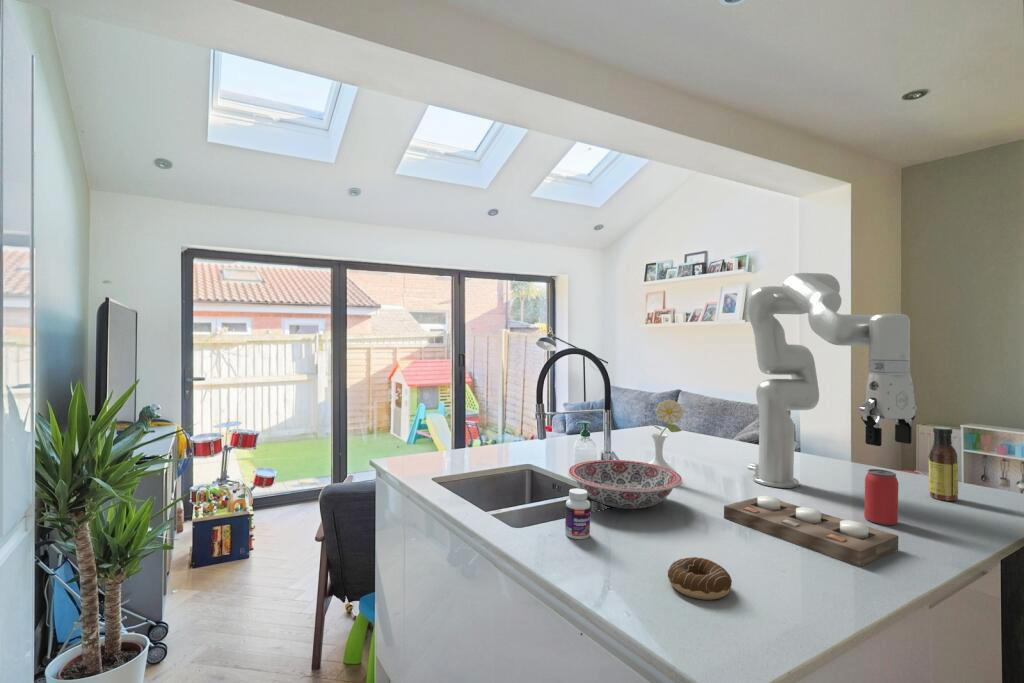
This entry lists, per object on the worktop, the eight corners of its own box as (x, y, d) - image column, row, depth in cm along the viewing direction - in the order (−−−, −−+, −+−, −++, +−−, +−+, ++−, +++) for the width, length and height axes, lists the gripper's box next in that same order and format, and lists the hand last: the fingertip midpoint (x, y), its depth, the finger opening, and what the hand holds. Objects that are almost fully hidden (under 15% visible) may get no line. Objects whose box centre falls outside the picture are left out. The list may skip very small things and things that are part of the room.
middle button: (791, 518, 116) (791, 509, 116) (803, 514, 119) (803, 506, 119) (813, 525, 112) (813, 516, 112) (825, 521, 115) (825, 512, 115)
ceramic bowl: (597, 481, 154) (597, 454, 154) (695, 500, 137) (696, 470, 137) (547, 506, 130) (547, 475, 130) (658, 533, 113) (659, 498, 113)
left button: (752, 505, 124) (753, 497, 124) (765, 502, 127) (765, 494, 127) (772, 512, 120) (772, 503, 120) (784, 508, 123) (784, 500, 123)
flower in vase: (633, 480, 155) (635, 398, 155) (646, 472, 165) (648, 395, 164) (676, 487, 148) (678, 402, 147) (687, 479, 157) (689, 398, 157)
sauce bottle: (946, 495, 144) (948, 425, 144) (964, 502, 138) (965, 430, 138) (922, 494, 145) (923, 425, 144) (938, 501, 138) (940, 429, 138)
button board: (723, 517, 123) (724, 504, 123) (763, 507, 132) (763, 494, 132) (859, 566, 98) (860, 549, 98) (898, 550, 106) (898, 534, 106)
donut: (744, 603, 84) (744, 579, 84) (682, 605, 83) (682, 581, 83) (713, 573, 94) (713, 552, 94) (658, 575, 94) (658, 553, 94)
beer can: (893, 519, 124) (894, 470, 124) (901, 528, 118) (902, 477, 118) (861, 514, 127) (862, 467, 127) (867, 523, 121) (868, 473, 121)
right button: (835, 532, 108) (835, 522, 108) (847, 527, 111) (847, 518, 111) (861, 540, 104) (861, 530, 104) (872, 535, 106) (873, 526, 106)
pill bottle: (574, 541, 108) (575, 496, 108) (560, 532, 113) (561, 489, 113) (594, 537, 110) (595, 492, 110) (580, 528, 115) (581, 486, 115)
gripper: (879, 369, 108) (878, 449, 108) (932, 368, 114) (932, 444, 114) (845, 367, 115) (845, 442, 115) (897, 367, 121) (897, 439, 121)
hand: (888, 443), depth 115 cm, fingers open, 9 cm apart
